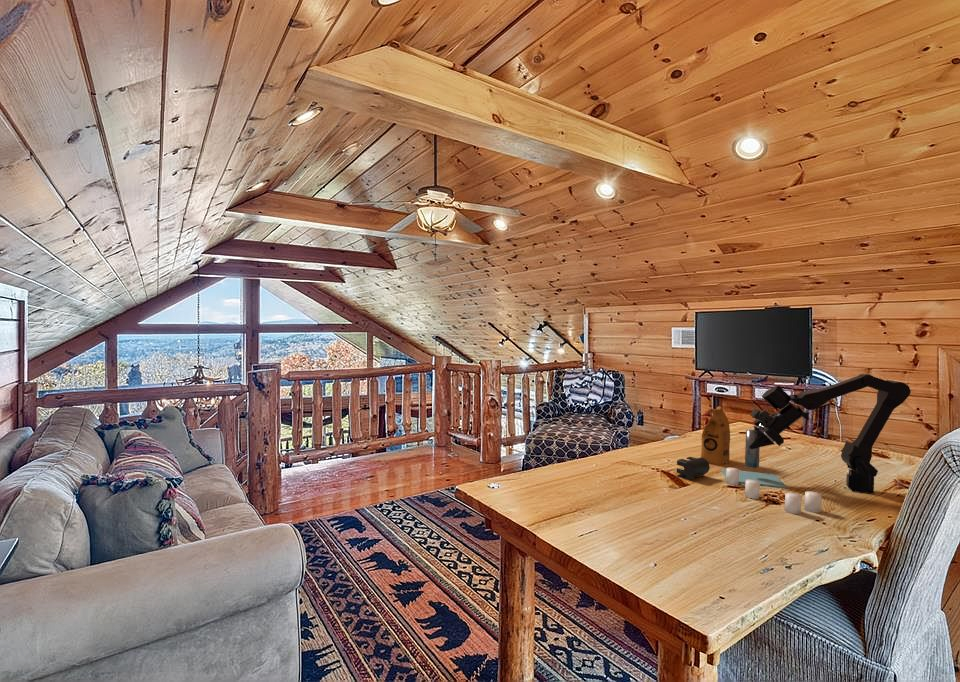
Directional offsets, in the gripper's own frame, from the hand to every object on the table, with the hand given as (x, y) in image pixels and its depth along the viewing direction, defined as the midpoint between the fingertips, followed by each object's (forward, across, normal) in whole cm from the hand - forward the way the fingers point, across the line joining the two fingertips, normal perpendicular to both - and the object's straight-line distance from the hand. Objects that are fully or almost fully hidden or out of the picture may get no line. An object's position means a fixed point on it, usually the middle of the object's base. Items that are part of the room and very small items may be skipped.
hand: (748, 446), depth 169 cm
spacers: (+7, +18, +9) cm, 22 cm away
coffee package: (+14, -20, +3) cm, 25 cm away
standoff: (+4, 0, +6) cm, 7 cm away
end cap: (+22, +6, -5) cm, 23 cm away
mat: (+7, 0, +9) cm, 12 cm away
